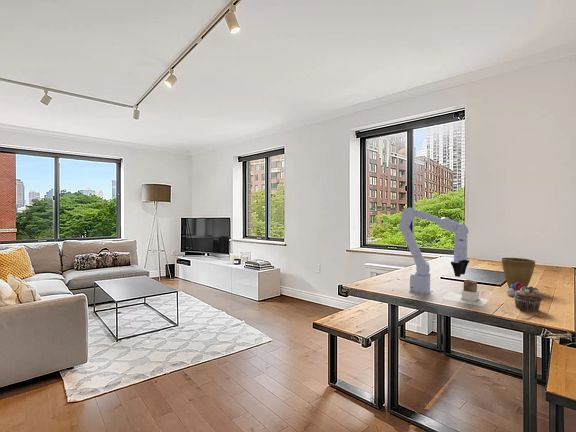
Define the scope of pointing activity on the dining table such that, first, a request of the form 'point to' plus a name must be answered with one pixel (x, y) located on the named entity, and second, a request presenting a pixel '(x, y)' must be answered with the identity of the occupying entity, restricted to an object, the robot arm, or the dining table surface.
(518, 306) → the cupcake
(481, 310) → the dining table surface
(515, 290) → the multicoloured rounded cluster
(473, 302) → the felt mat
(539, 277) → the dining table surface
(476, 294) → the base block
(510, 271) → the plant pot
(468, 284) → the walnut cube
